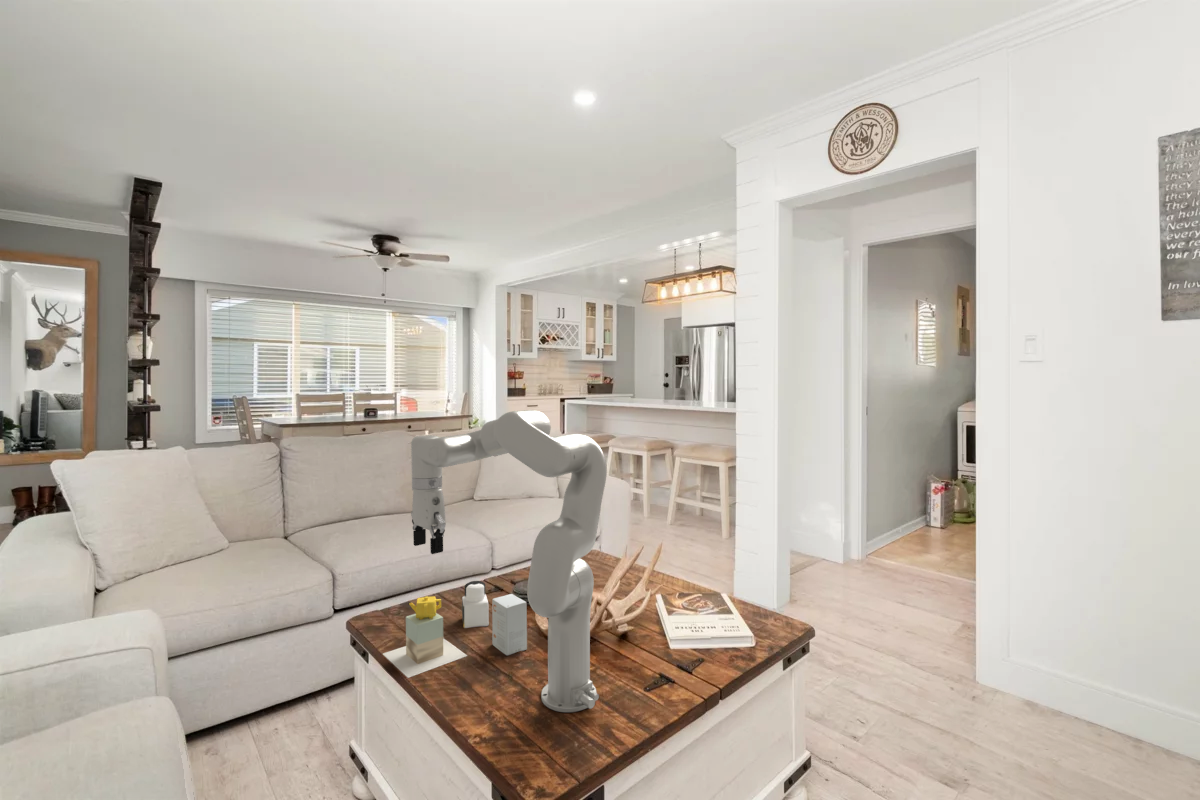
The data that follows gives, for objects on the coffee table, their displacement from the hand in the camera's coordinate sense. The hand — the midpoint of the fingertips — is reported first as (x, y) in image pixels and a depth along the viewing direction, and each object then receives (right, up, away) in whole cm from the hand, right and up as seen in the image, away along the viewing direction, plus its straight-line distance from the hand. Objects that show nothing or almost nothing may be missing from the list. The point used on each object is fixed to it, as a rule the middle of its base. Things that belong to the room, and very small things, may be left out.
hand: (428, 548), depth 145 cm
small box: (+20, -28, +5) cm, 35 cm away
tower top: (-1, -23, +1) cm, 23 cm away
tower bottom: (-1, -28, +1) cm, 28 cm away
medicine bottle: (+8, -28, +21) cm, 36 cm away
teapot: (-1, -18, 0) cm, 18 cm away
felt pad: (-1, -28, +1) cm, 28 cm away
